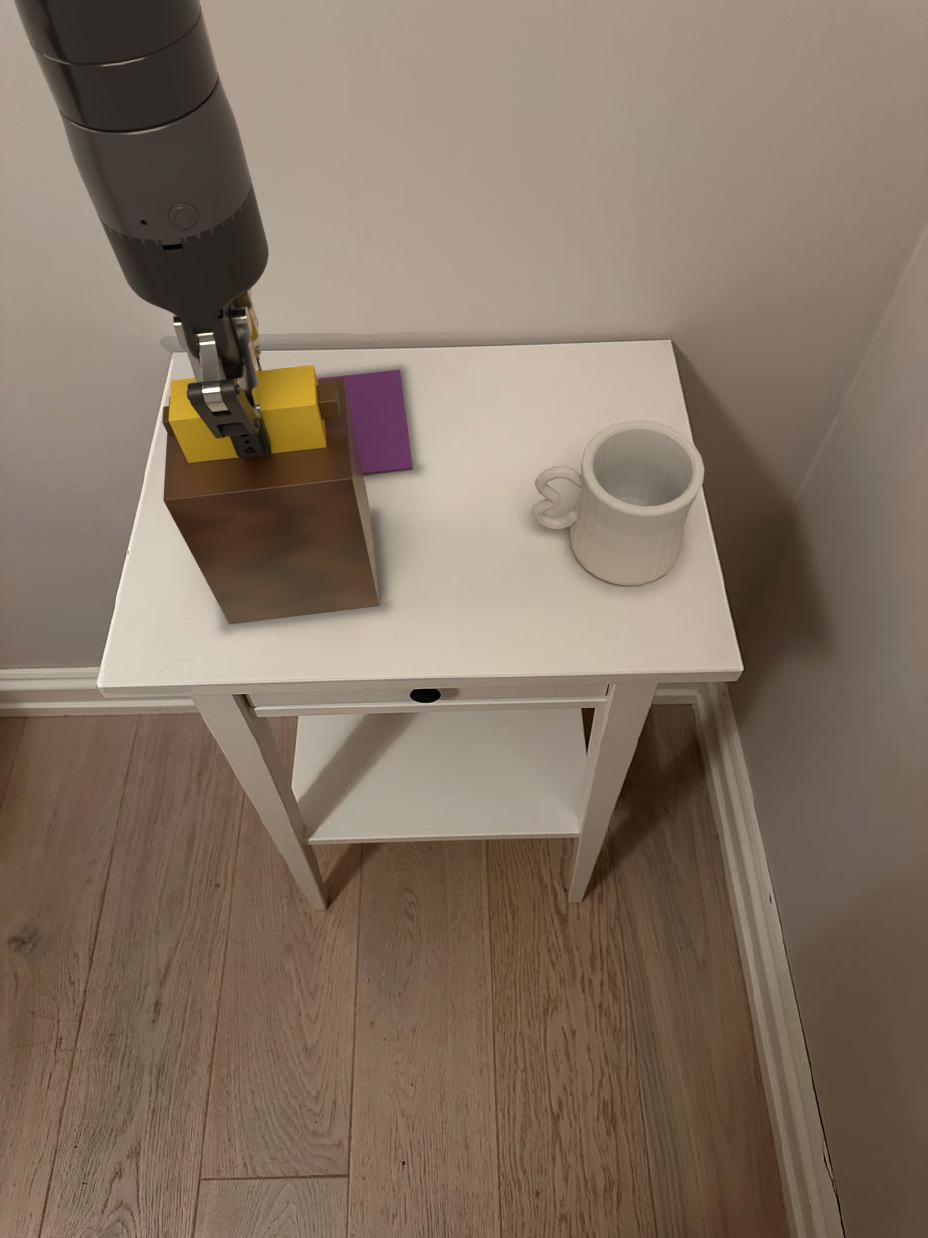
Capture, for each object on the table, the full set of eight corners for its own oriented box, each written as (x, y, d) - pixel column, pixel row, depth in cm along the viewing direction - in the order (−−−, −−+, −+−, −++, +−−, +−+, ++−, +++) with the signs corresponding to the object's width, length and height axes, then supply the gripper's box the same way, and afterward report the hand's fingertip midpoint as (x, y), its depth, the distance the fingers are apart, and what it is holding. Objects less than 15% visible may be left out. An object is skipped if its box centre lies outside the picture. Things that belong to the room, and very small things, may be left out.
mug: (677, 502, 73) (703, 420, 64) (681, 593, 68) (710, 518, 60) (532, 494, 74) (538, 412, 65) (526, 583, 69) (532, 509, 61)
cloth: (253, 487, 75) (252, 485, 74) (252, 387, 81) (251, 385, 80) (412, 469, 75) (412, 467, 75) (400, 371, 81) (399, 369, 81)
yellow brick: (175, 464, 55) (155, 422, 52) (177, 425, 57) (157, 381, 54) (345, 445, 56) (335, 401, 52) (342, 407, 58) (332, 362, 54)
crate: (229, 624, 68) (162, 500, 54) (229, 532, 72) (168, 396, 59) (379, 605, 69) (352, 478, 55) (371, 515, 73) (344, 376, 59)
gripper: (103, 107, 44) (200, 359, 59) (78, 290, 37) (194, 523, 52) (249, 93, 45) (308, 347, 60) (250, 272, 38) (317, 509, 53)
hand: (255, 429), depth 56 cm, fingers closed on yellow brick, 3 cm apart
